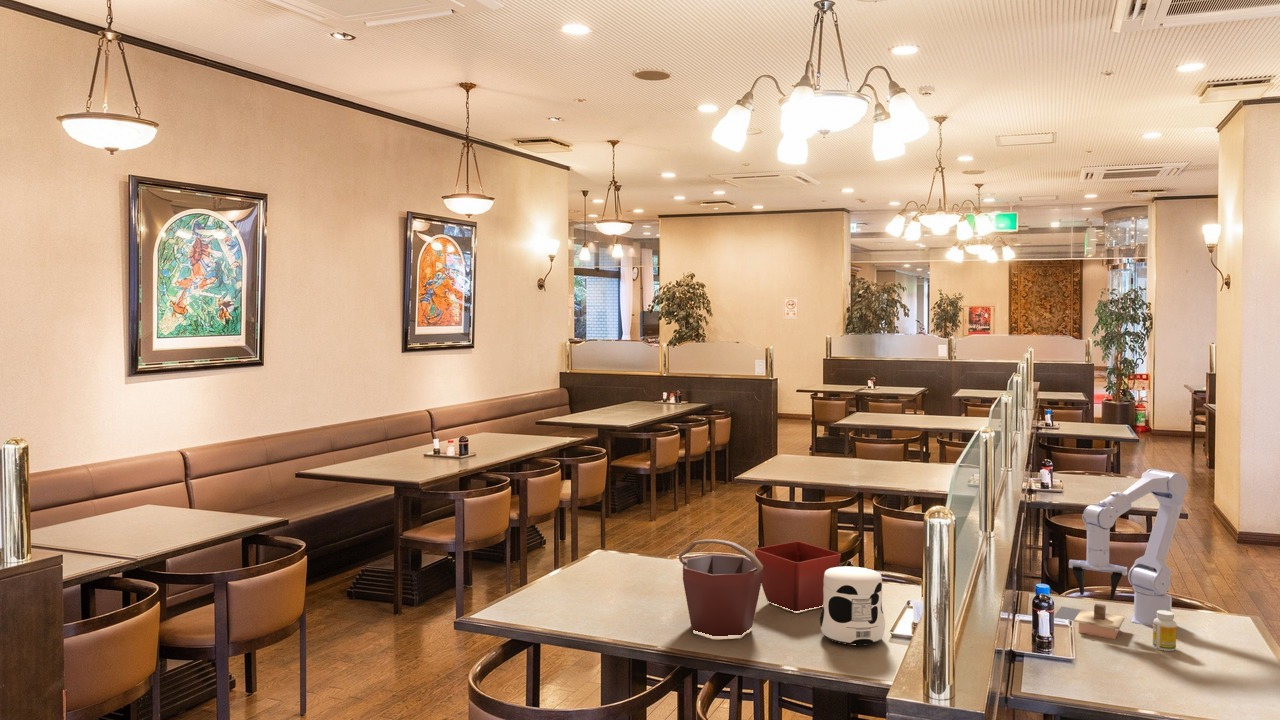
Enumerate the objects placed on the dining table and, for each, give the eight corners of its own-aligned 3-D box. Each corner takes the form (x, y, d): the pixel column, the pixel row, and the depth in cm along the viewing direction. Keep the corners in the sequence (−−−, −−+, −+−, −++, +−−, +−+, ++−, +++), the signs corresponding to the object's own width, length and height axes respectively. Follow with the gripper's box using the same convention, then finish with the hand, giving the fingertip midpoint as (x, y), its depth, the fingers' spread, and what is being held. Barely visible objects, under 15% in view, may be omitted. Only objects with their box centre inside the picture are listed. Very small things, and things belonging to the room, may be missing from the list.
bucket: (662, 628, 253) (662, 540, 252) (711, 610, 270) (711, 527, 269) (732, 650, 237) (732, 556, 236) (779, 629, 253) (780, 541, 252)
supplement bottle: (1148, 646, 240) (1148, 610, 240) (1161, 643, 243) (1161, 608, 242) (1167, 653, 236) (1168, 616, 235) (1180, 649, 238) (1181, 613, 238)
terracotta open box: (1119, 631, 252) (1120, 619, 252) (1114, 640, 245) (1115, 628, 244) (1084, 625, 257) (1084, 613, 257) (1078, 634, 250) (1078, 621, 250)
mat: (1113, 616, 265) (1113, 615, 265) (1106, 627, 255) (1106, 626, 255) (1061, 607, 273) (1061, 606, 273) (1053, 618, 263) (1053, 616, 263)
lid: (1124, 618, 252) (1124, 604, 252) (1118, 629, 243) (1119, 614, 243) (1081, 611, 259) (1081, 597, 258) (1074, 621, 250) (1074, 607, 249)
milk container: (842, 624, 258) (843, 561, 257) (897, 639, 245) (897, 574, 245) (807, 639, 246) (807, 573, 245) (862, 655, 233) (863, 587, 233)
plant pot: (842, 608, 272) (843, 553, 271) (796, 620, 261) (796, 562, 261) (797, 592, 288) (798, 540, 287) (752, 603, 277) (752, 548, 276)
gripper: (1067, 547, 254) (1066, 595, 254) (1125, 555, 246) (1124, 604, 246) (1071, 542, 260) (1070, 589, 260) (1128, 549, 251) (1127, 597, 252)
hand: (1097, 596), depth 254 cm, fingers open, 7 cm apart
